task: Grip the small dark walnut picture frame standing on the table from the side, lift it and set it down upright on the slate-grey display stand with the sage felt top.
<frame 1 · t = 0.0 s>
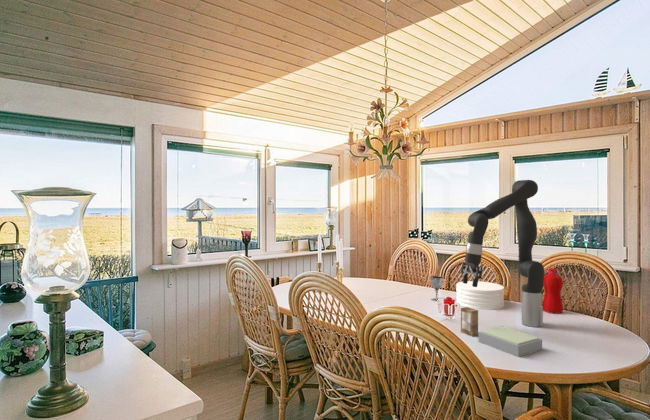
hand: (469, 285, 195), 22 cm above the table, tool pointing down, fingers open, 8 cm apart
water bottle: (553, 312, 226), on the table
wine glass: (436, 300, 255), on the table
frame: (469, 333, 190), on the table
plate stack: (479, 304, 246), on the table
display stand: (509, 345, 173), on the table
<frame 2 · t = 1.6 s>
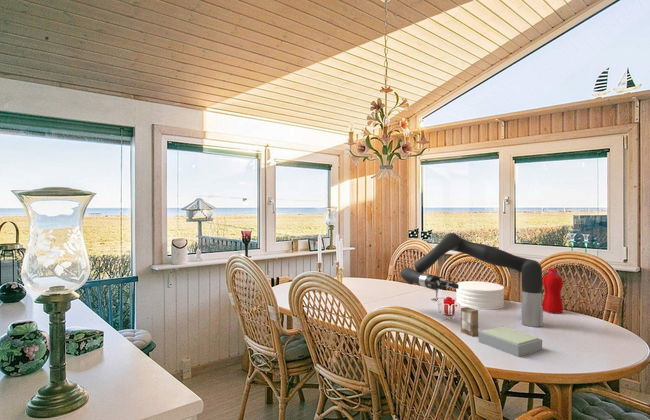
hand: (452, 287, 199), 20 cm above the table, tool horizontal, fingers open, 8 cm apart
nothing on the table moved.
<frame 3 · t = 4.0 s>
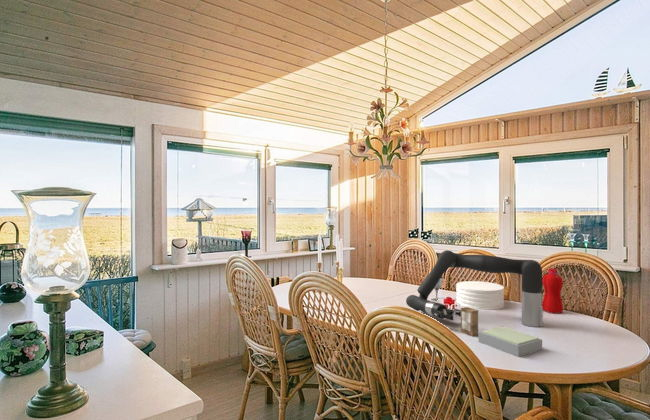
hand: (459, 317, 195), 6 cm above the table, tool horizontal, fingers open, 8 cm apart
nothing on the table moved.
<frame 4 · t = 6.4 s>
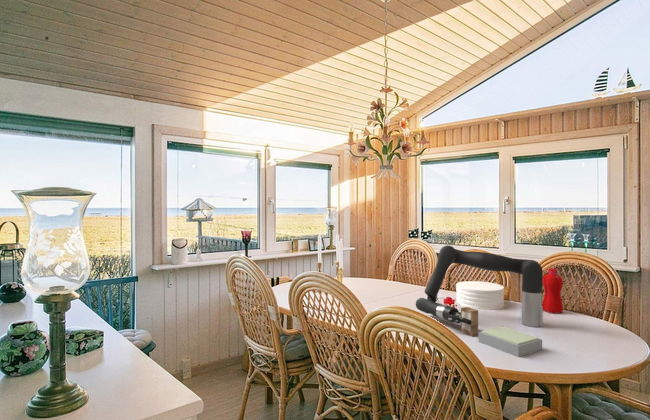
hand: (473, 321, 187), 7 cm above the table, tool horizontal, fingers closed on frame, 4 cm apart
frame: (469, 333, 190), on the table, touching gripper
everything else where it was.
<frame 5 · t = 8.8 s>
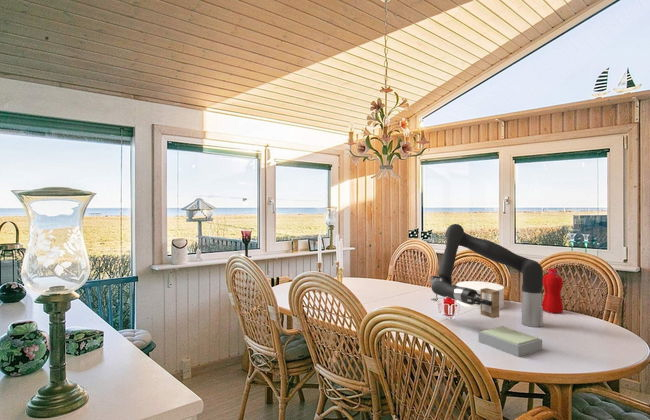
hand: (494, 303, 178), 18 cm above the table, tool horizontal, fingers closed on frame, 4 cm apart
frame: (489, 315, 181), point 11 cm above the table, touching gripper
everything else where it was.
when the fingers open (12 cm above the table, at t = 11.1 s): frame stays where it is, resting on display stand.
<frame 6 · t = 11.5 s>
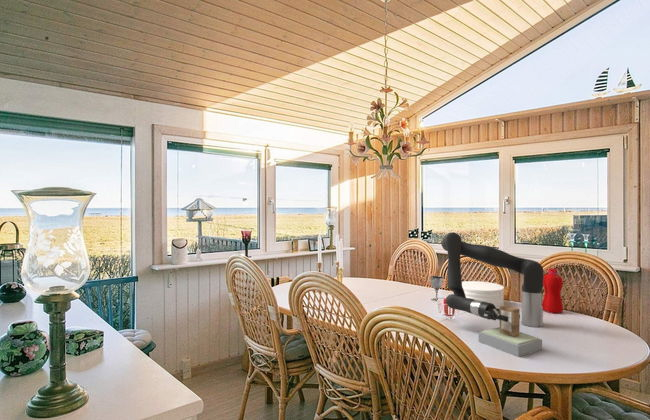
hand: (513, 318, 171), 13 cm above the table, tool horizontal, fingers open, 7 cm apart
frame: (509, 334, 173), point 5 cm above the table, touching display stand
everything else where it was.
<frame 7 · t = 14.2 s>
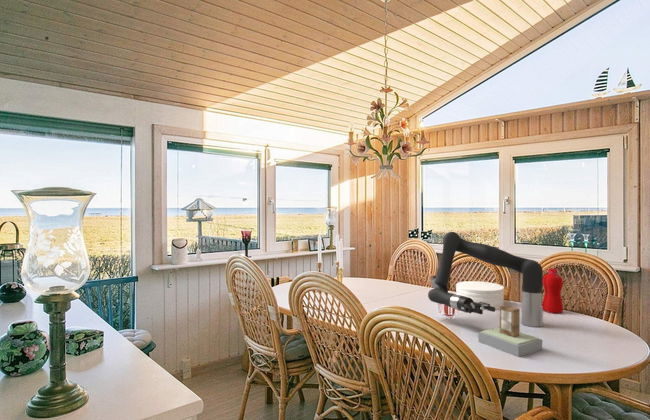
hand: (488, 310, 183), 13 cm above the table, tool horizontal, fingers open, 8 cm apart
nothing on the table moved.
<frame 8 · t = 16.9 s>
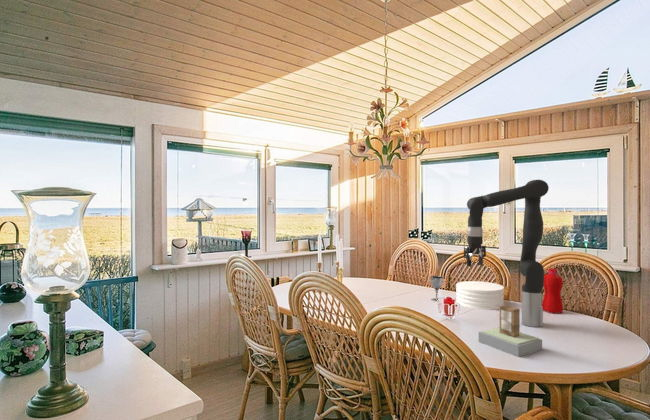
hand: (474, 265, 207), 30 cm above the table, tool pointing down, fingers open, 8 cm apart
nothing on the table moved.
at the end: frame inside the target area on the display stand (0.1 cm from its centre), point 5.0 cm above the display stand's base; frame tilted 0°; the gripper is holding nothing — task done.
